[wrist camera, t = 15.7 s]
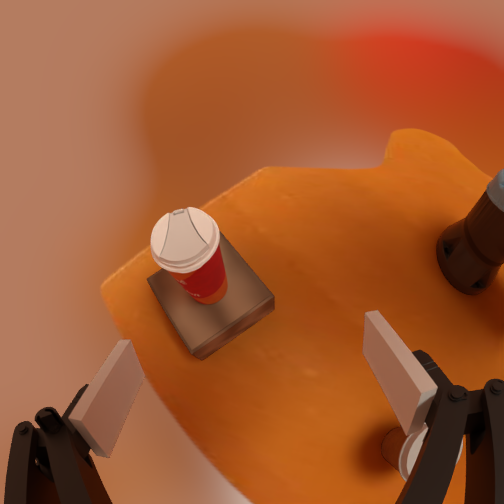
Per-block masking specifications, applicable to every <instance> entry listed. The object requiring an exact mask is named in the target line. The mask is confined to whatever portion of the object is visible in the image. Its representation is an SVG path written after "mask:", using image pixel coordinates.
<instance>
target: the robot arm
mask: <svg viewBox="0 0 504 504" xmlns="http://www.w3.org/2000/svg"><path fill="white" fill-rule="evenodd" d="M437 258H438V262H439V265H440V268H441V270H442V272H443V274H444V275H445V277H446V278H447V280H448V281H449V282H450V283H451V284H452V285H453V286H454V287H455V288H456V289H458V290H459V291H461V292H463V293H465V294H469V295H475V294H479V293H481V292H482V291H484V290H485V289H486V288H488V287H489V286H490V285H491V283H492V282H493V280H494V278H495V276H496V275H497V273H498V271H499V269H500V267H501V265H502V264H503V263H504V169H502V170H500V171H499V172H498V173H497V175H496V176H495V177H494V179H493V180H492V181H491V182H489V184H488V185H487V189H486V191H485V192H484V194H483V195H482V196H481V198H480V199H479V200H478V202H477V203H476V204H475V206H474V207H473V208H472V210H471V211H470V212H469V214H468V215H467V216H466V218H464V219H462V220H460V221H458V222H456V223H454V224H452V225H450V226H449V227H448V228H447V229H446V230H445V231H444V232H443V233H442V235H441V236H440V238H439V240H438V243H437ZM363 355H364V357H365V358H366V360H367V362H368V364H369V366H370V367H371V369H372V371H373V373H374V375H375V377H376V378H377V380H378V382H379V384H380V386H381V388H382V390H383V392H384V393H385V395H386V397H387V399H388V401H389V403H390V405H391V407H392V409H393V411H394V413H395V415H396V417H397V419H398V420H399V422H400V424H401V426H402V428H403V430H404V432H405V434H406V436H408V435H410V434H413V433H416V432H418V431H421V430H422V427H423V425H424V423H426V425H427V427H428V430H427V432H426V434H425V436H424V439H423V441H422V442H423V443H422V446H421V449H420V451H419V454H418V456H417V459H416V461H415V464H414V466H413V468H412V470H411V473H410V475H409V477H408V479H407V481H406V484H405V486H404V488H403V490H402V492H401V494H400V496H399V498H398V500H397V501H396V503H395V504H442V503H443V500H444V498H445V495H446V492H447V490H448V487H449V484H450V481H451V478H452V475H453V472H454V468H455V465H456V462H457V458H458V455H459V451H460V447H461V443H462V439H463V435H465V434H466V488H465V502H464V504H504V381H503V380H500V379H491V380H489V381H488V382H487V383H486V384H485V386H484V389H481V390H475V391H468V390H467V389H466V388H464V387H462V386H459V385H453V384H452V383H451V382H450V380H449V379H448V378H447V377H446V375H445V374H444V373H443V372H442V370H441V369H440V368H439V367H438V365H437V364H436V363H435V362H434V361H433V359H432V358H431V357H430V356H429V355H428V354H427V353H425V352H423V351H422V350H417V351H414V352H411V351H410V350H409V348H408V347H407V346H406V345H405V343H404V342H403V341H402V340H401V338H400V337H399V336H398V335H397V333H396V332H395V331H394V330H393V328H392V327H391V326H390V325H389V323H388V322H387V321H386V320H385V319H384V317H383V316H382V315H381V314H380V312H379V311H378V310H375V311H370V312H366V313H365V321H364V339H363ZM144 378H145V374H144V372H143V369H142V367H141V365H140V362H139V360H138V357H137V355H136V352H135V350H134V347H133V345H132V342H131V340H119V341H118V343H117V344H116V346H115V347H114V349H113V350H112V351H111V353H110V354H109V356H108V357H107V359H106V360H105V362H104V363H103V365H102V366H101V368H100V369H99V371H98V372H97V374H96V375H95V377H94V378H93V380H92V381H91V383H90V384H86V385H85V386H84V387H82V388H81V389H80V390H79V391H78V393H77V394H76V396H75V398H74V399H73V401H72V403H70V405H69V407H68V408H67V410H66V411H65V413H64V414H63V416H62V417H60V415H59V414H58V412H57V411H56V409H54V408H52V407H46V408H43V409H41V410H40V411H39V412H38V413H37V414H36V416H35V421H36V422H37V424H38V425H39V426H40V428H35V427H34V426H33V425H32V423H30V422H29V421H24V422H21V423H19V424H18V425H17V426H16V427H15V430H14V433H13V438H12V443H11V449H10V454H9V461H8V467H7V475H6V485H5V496H4V497H5V498H4V504H112V502H111V500H110V498H109V496H108V494H107V492H106V490H105V488H104V485H103V483H102V481H101V479H100V476H99V474H98V472H97V470H96V467H95V465H94V462H93V460H92V457H91V456H90V455H89V451H90V449H92V450H93V452H94V453H95V454H96V455H97V456H102V457H106V458H110V455H111V453H112V451H113V448H114V446H115V443H116V441H117V439H118V436H119V434H120V432H121V429H122V427H123V425H124V422H125V420H126V418H127V415H128V413H129V411H130V408H131V406H132V404H133V402H134V400H135V397H136V395H137V393H138V391H139V389H140V386H141V384H142V382H143V380H144ZM35 459H36V461H37V463H36V461H35Z"/></svg>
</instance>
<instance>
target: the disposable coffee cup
mask: <svg viewBox="0 0 504 504" xmlns="http://www.w3.org/2000/svg"><path fill="white" fill-rule="evenodd" d="M427 430H428V427H427V425H426V423H424V425H423V427H422V430H421V431H418V432H416V433H413V434H410V435H408V436H406V434H405V432H404V430H403V428H402V426H401V427H397V428H395V429H393V430H391V431H390V432H389V433H388V434H387V435H386V437H385V438H384V440H383V442H382V447H381V452H382V455H383V457H384V458H385V459H386V460H387V461H388V462H389V463H390V464H391V465H392V466H393V467H394V468H395V469H396V470H398V471H399V472H400V474H401V476H402V478H403V479H404V480H405V481H407V479H408V477H409V475H410V473H411V470H412V468H413V466H414V464H415V461H416V459H417V456H418V454H419V451H420V449H421V446H422V443H423V442H422V441H423V439H424V436H425V434H426V432H427ZM462 447H463V439H462V443H461V447H460V451H459V455H458V458H457V462H458V460H459V458H460V455H461V452H462ZM457 462H456V464H457Z"/></svg>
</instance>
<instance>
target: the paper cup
mask: <svg viewBox="0 0 504 504" xmlns="http://www.w3.org/2000/svg"><path fill="white" fill-rule="evenodd" d="M219 239H220V233H219V229H218V226H217V224H216V222H215V221H214V220H213V218H211V217H210V216H209V215H207V214H206V213H205V212H203V211H201V210H199V209H196V208H192V207H188V209H184V210H183V209H180V210H176V211H173V213H167V214H166V215H164V216H163V217H162V218H161V219H160V220H159V221H158V222H157V224H156V225H155V227H154V229H153V232H152V235H151V253H152V256H153V258H154V260H155V262H156V263H157V264H158V265H159V266H160V267H162V268H163V269H165V270H167V271H168V272H169V273H170V274H171V275H172V276H173V277H174V278H175V280H176V281H177V282H178V283H179V284H180V285H181V286H182V287H183V288H184V289H185V290H186V291H187V292H188V293H189V294H190V295H191V296H192V297H193V298H194V299H195V300H196V301H198V302H199V303H202V304H207V305H208V304H214V303H216V302H218V301H220V300H221V299H222V298H223V297H224V296H225V294H226V292H227V288H228V282H227V276H226V271H225V267H224V263H223V258H222V254H221V250H220V245H219Z"/></svg>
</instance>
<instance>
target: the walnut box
mask: <svg viewBox="0 0 504 504" xmlns="http://www.w3.org/2000/svg"><path fill="white" fill-rule="evenodd" d="M219 233H220V239H219V245H220V250H221V254H222V258H223V263H224V267H225V271H226V276H227V282H228V288H227V292H226V294H225V296H224V297H223V298H222V299H221V300H220V301H218V302H216V303H214V304H208V305H207V304H202V303H199V302H198V301H196V300H195V299H194V298H193V297H192V296H191V295H190V294H189V293H188V292H187V291H186V290H185V289H184V288H183V287H182V286H181V285H180V284H179V283H178V282H177V281H176V280H175V278H174V277H173V276H172V275H171V274H170V273H169V272H168V271H167V270H165V269H163V268H162V269H161V270H159V271H158V272H156V273H155V274H153V275H152V276H150V277H149V278H147V281H148V283H149V285H150V287H151V288H152V290H153V292H154V294H155V296H156V297H157V299H158V301H159V303H160V304H161V306H162V308H163V309H164V311H165V313H166V314H167V316H168V318H169V319H170V321H171V323H172V324H173V326H174V328H175V329H176V331H177V332H178V334H179V336H180V337H181V339H182V340H183V342H184V344H185V345H186V347H187V348H188V350H189V351H190V353H191V354H192V355H194V356H195V357H197V358H199V359H200V360H203V359H205V358H206V357H208V356H209V355H211V354H212V353H214V352H215V351H217V350H218V349H220V348H221V347H223V346H224V345H225V344H227V343H228V342H230V341H231V340H233V339H234V338H235V337H237V336H238V335H240V334H241V333H243V332H244V331H245V330H247V329H248V328H250V327H251V326H252V325H254V324H255V323H257V322H258V321H259V320H261V319H262V318H263V317H265V316H266V315H268V314H269V313H270V312H272V311H273V310H274V295H273V294H272V293H271V291H270V290H269V289H268V288H267V287H266V286H265V284H264V283H263V282H262V281H261V280H260V278H259V277H258V276H257V275H256V274H255V272H254V271H253V270H252V269H251V268H250V266H249V265H248V264H247V263H246V262H245V260H244V259H243V258H242V257H241V256H240V254H239V253H238V252H237V251H236V250H235V248H234V247H233V246H232V245H231V244H230V242H229V241H228V240H227V239H226V238H225V236H224V235H223V234H222V233H221V232H220V231H219Z"/></svg>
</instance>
